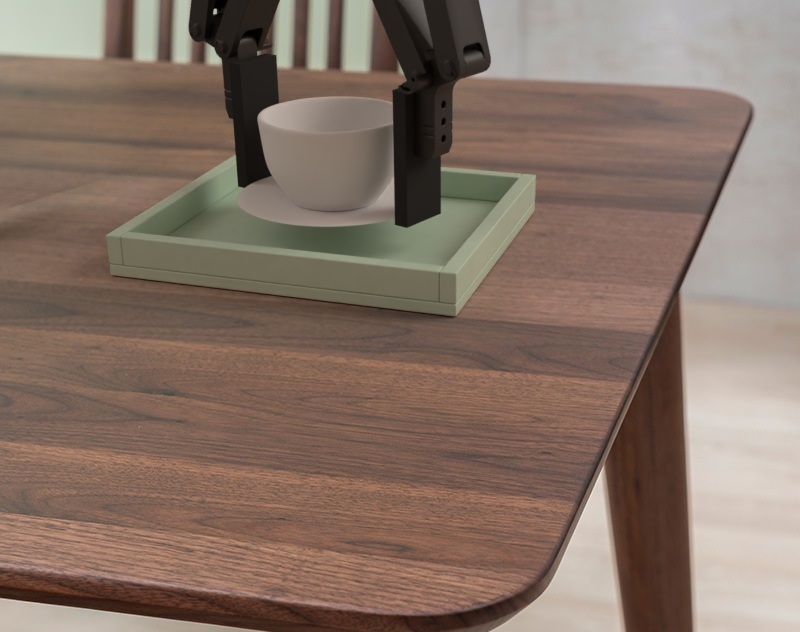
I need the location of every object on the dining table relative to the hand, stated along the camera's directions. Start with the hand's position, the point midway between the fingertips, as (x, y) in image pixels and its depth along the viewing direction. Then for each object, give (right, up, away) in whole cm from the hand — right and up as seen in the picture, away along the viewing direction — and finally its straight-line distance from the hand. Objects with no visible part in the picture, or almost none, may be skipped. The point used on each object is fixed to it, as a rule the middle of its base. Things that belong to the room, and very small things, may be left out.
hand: (335, 199), depth 64 cm
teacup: (0, 0, 0) cm, 0 cm away
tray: (0, -2, +1) cm, 2 cm away
